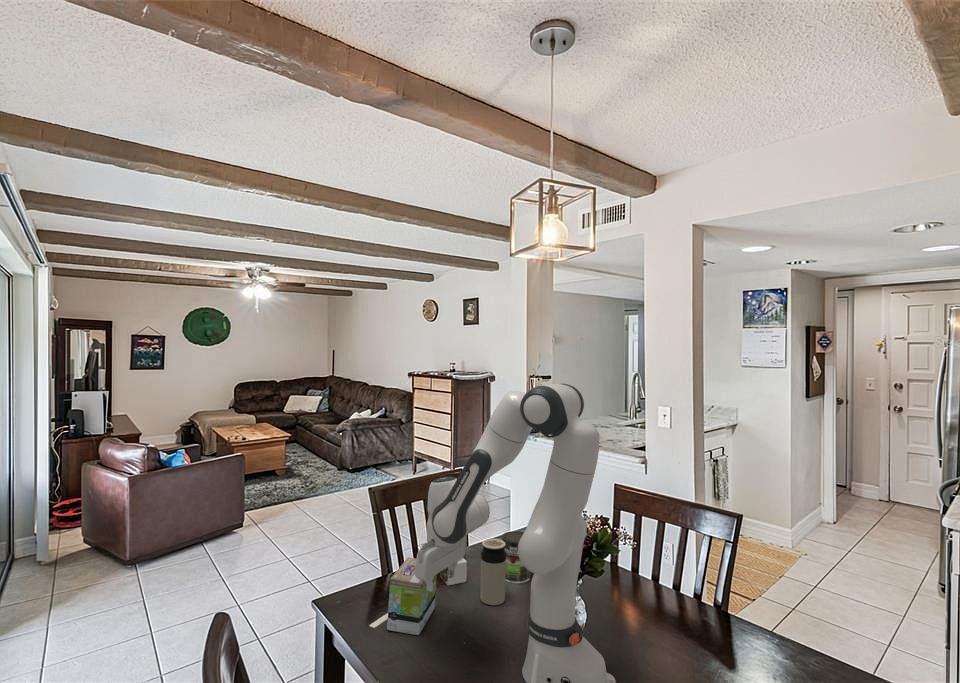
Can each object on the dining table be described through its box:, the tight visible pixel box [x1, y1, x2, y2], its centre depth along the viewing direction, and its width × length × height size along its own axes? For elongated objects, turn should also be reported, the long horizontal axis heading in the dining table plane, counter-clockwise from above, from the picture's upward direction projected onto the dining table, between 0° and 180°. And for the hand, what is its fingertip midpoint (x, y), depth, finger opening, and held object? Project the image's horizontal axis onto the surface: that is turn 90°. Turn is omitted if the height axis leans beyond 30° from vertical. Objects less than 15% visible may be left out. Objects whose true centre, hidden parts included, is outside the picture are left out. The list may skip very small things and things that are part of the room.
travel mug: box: [479, 538, 506, 606], centre depth 155 cm, size 8×8×18 cm
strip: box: [368, 612, 388, 629], centre depth 146 cm, size 2×17×1 cm, turn 149°
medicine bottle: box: [439, 557, 468, 586], centre depth 168 cm, size 7×7×12 cm
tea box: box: [386, 556, 438, 636], centre depth 143 cm, size 15×10×15 cm
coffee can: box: [501, 530, 531, 585], centre depth 171 cm, size 10×10×14 cm
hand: (441, 583), depth 138 cm, fingers open, 8 cm apart
